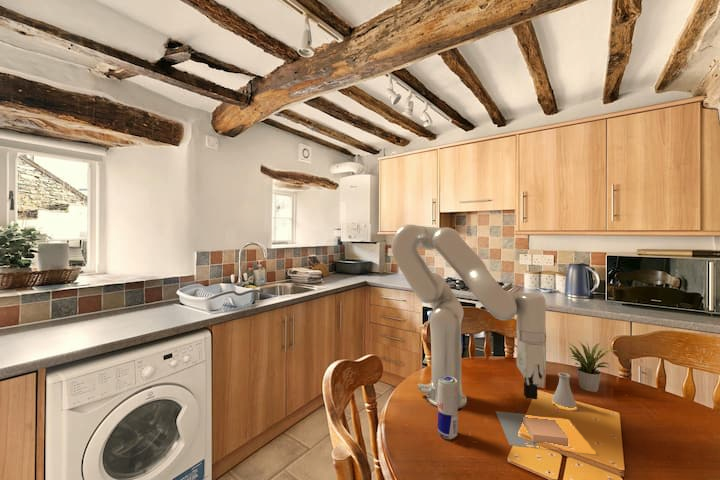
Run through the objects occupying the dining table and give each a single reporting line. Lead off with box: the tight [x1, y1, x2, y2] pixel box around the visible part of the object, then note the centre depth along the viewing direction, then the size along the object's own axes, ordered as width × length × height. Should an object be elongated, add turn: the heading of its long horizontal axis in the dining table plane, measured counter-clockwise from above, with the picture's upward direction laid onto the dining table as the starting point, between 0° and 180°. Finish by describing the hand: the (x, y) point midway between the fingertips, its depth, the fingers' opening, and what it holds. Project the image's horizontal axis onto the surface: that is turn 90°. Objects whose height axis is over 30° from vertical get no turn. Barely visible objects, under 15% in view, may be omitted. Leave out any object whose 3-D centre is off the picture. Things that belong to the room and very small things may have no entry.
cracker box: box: [537, 326, 547, 390], centre depth 116 cm, size 14×6×21 cm, turn 150°
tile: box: [523, 417, 568, 446], centre depth 83 cm, size 8×2×8 cm
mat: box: [495, 410, 540, 449], centre depth 85 cm, size 20×16×1 cm
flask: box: [551, 372, 578, 408], centre depth 98 cm, size 7×7×10 cm
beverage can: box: [437, 376, 459, 440], centre depth 84 cm, size 5×5×15 cm
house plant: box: [568, 340, 617, 393], centre depth 110 cm, size 14×14×16 cm
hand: (530, 397), depth 93 cm, fingers closed
